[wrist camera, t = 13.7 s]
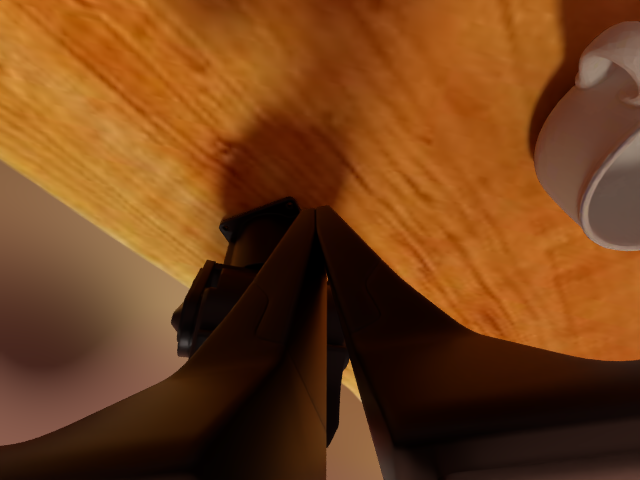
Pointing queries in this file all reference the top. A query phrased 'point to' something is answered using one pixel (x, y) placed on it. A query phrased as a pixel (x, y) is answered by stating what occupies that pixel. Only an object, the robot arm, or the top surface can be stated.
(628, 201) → the teacup
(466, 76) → the top surface
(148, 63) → the top surface
